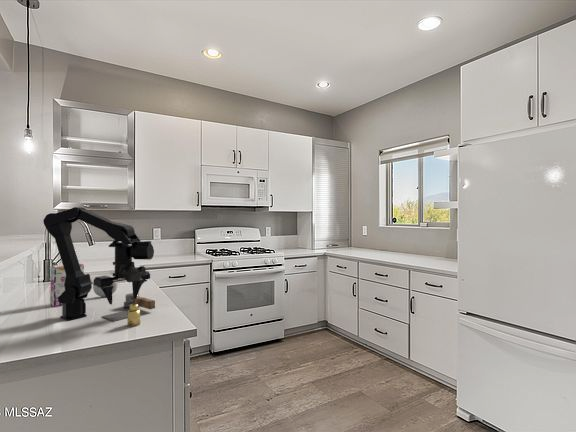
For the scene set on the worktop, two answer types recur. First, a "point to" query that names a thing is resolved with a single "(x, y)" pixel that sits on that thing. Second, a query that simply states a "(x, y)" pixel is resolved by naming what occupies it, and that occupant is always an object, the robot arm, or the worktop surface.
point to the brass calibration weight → (133, 316)
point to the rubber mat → (116, 316)
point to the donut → (99, 290)
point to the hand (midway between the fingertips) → (123, 301)
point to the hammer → (139, 301)
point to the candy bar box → (58, 283)
